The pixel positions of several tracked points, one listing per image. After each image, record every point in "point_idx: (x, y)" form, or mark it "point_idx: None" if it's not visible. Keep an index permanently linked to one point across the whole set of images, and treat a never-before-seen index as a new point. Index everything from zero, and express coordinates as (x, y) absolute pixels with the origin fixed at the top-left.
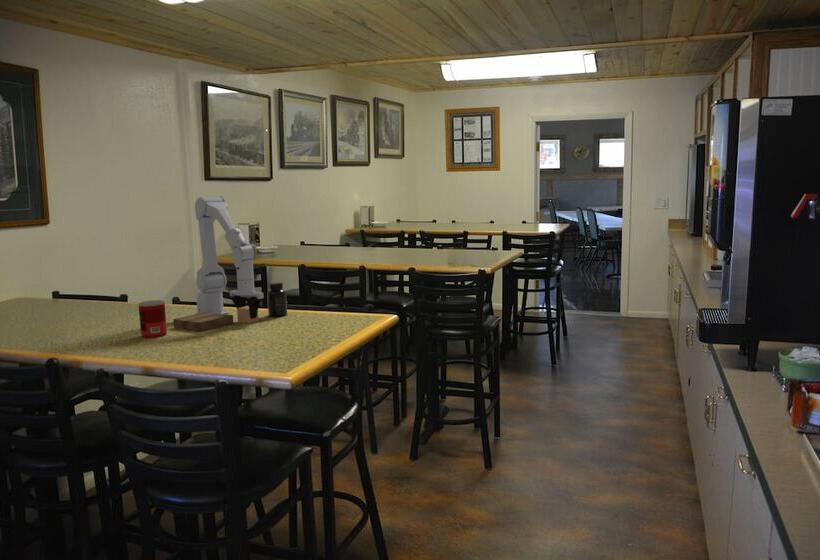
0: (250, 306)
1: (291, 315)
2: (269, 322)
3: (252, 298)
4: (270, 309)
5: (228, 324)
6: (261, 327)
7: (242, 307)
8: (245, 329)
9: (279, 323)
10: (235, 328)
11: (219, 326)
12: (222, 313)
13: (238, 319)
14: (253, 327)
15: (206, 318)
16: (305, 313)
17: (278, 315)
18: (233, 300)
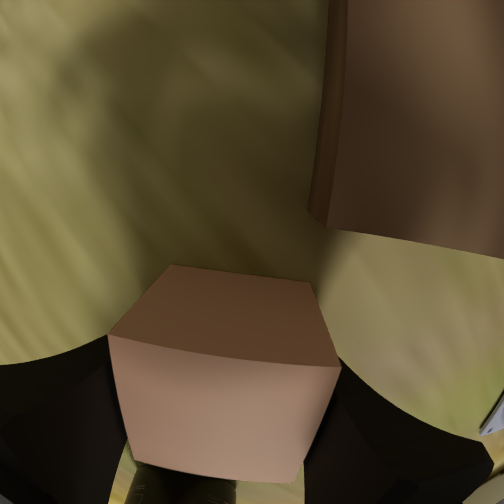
0: (51, 365)
1: (124, 477)
2: (61, 333)
3: (7, 474)
4: (181, 496)
5: (318, 143)
6: (3, 176)
7: (287, 423)
8: (52, 71)
9: (6, 316)
10: (140, 50)
11: (329, 37)
12: (502, 403)
13: (301, 291)
14: (37, 148)
15: (463, 5)
16: (112, 494)
17: (144, 464)
18: (449, 452)
